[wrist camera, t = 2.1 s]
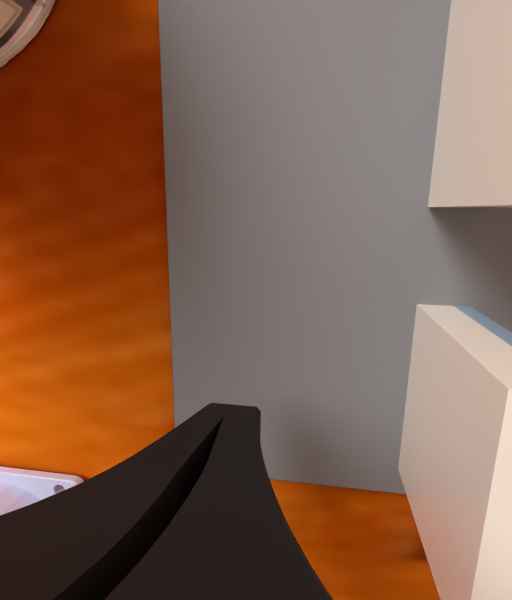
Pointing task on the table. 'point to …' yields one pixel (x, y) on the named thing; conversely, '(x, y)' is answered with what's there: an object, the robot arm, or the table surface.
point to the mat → (313, 222)
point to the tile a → (460, 450)
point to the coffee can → (20, 24)
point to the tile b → (475, 109)
